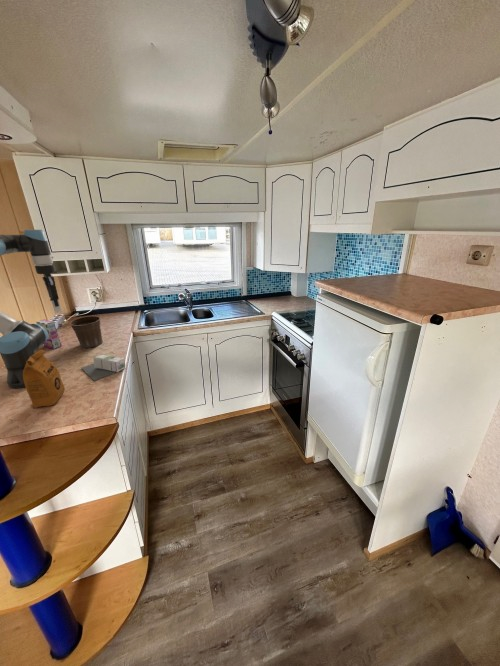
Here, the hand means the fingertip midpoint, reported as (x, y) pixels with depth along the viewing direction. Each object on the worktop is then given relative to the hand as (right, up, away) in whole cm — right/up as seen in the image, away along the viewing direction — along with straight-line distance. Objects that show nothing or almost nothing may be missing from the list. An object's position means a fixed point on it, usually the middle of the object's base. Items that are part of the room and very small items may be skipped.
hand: (58, 312), depth 135 cm
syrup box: (+17, -25, +5) cm, 31 cm away
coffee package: (+11, -40, -19) cm, 45 cm away
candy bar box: (-26, -19, +32) cm, 45 cm away
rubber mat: (+19, -30, +3) cm, 35 cm away
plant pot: (-3, -18, +33) cm, 38 cm away
